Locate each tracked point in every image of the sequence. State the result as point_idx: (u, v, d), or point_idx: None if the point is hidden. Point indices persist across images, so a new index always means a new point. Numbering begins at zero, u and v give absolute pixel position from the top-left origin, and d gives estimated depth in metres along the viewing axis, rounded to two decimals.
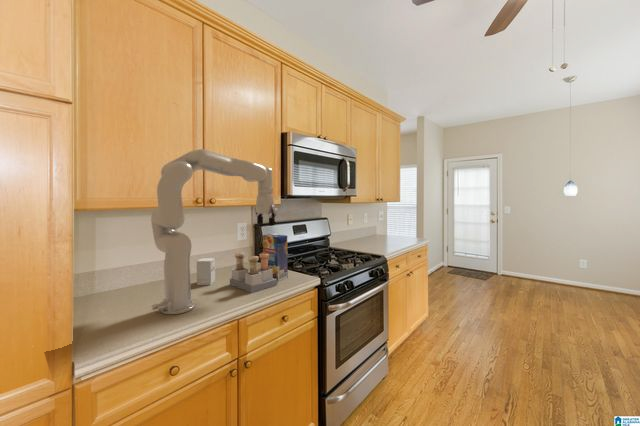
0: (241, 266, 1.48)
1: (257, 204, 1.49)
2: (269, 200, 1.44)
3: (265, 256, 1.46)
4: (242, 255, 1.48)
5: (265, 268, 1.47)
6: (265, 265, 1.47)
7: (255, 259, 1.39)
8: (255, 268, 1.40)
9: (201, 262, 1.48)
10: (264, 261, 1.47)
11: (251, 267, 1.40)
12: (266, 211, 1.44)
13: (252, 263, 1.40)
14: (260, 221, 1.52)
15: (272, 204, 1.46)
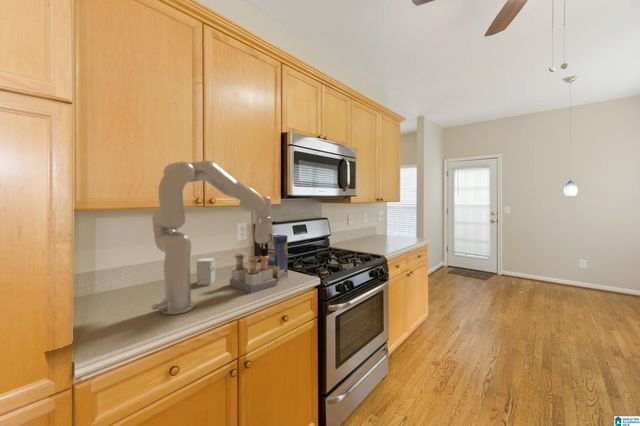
0: (241, 266, 1.48)
1: (256, 233, 1.48)
2: (268, 229, 1.43)
3: (265, 258, 1.46)
4: (242, 255, 1.48)
5: (265, 270, 1.47)
6: (265, 267, 1.47)
7: (255, 259, 1.39)
8: (255, 268, 1.40)
9: (201, 262, 1.48)
10: (264, 263, 1.47)
11: (251, 267, 1.40)
12: (265, 241, 1.43)
13: (252, 263, 1.40)
14: None
15: (271, 233, 1.45)
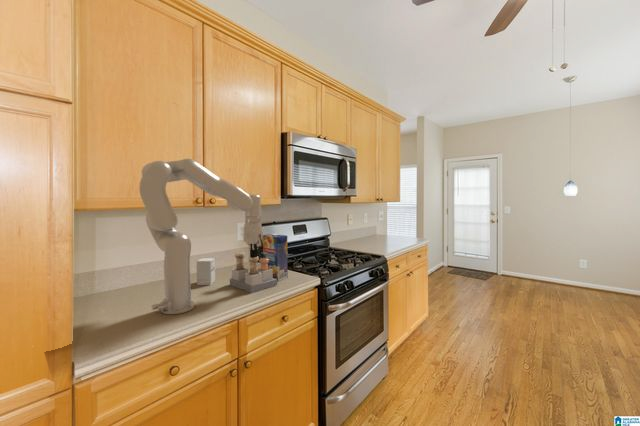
0: (241, 266, 1.48)
1: (244, 233, 1.41)
2: (257, 229, 1.36)
3: (265, 261, 1.47)
4: (242, 255, 1.48)
5: None
6: (265, 270, 1.47)
7: (255, 259, 1.39)
8: (255, 268, 1.40)
9: (201, 262, 1.48)
10: (264, 266, 1.47)
11: (251, 267, 1.40)
12: (253, 241, 1.36)
13: (252, 263, 1.40)
14: None
15: (260, 233, 1.37)
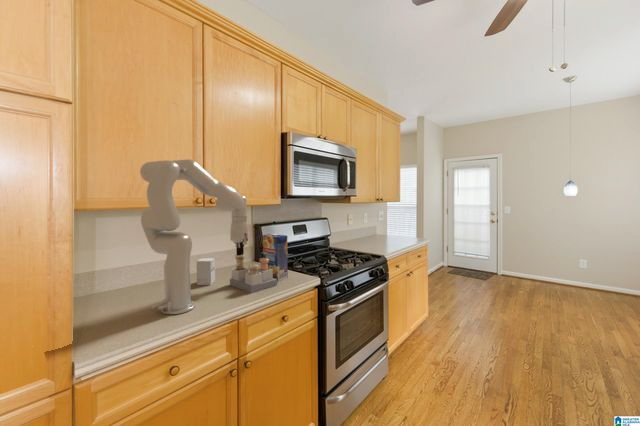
0: (241, 267, 1.48)
1: (231, 232, 1.49)
2: (242, 229, 1.44)
3: (265, 261, 1.47)
4: (242, 256, 1.48)
5: None
6: (265, 270, 1.47)
7: (255, 268, 1.40)
8: None
9: (201, 262, 1.48)
10: (264, 266, 1.47)
11: None
12: (239, 240, 1.44)
13: (252, 272, 1.40)
14: None
15: (246, 232, 1.45)
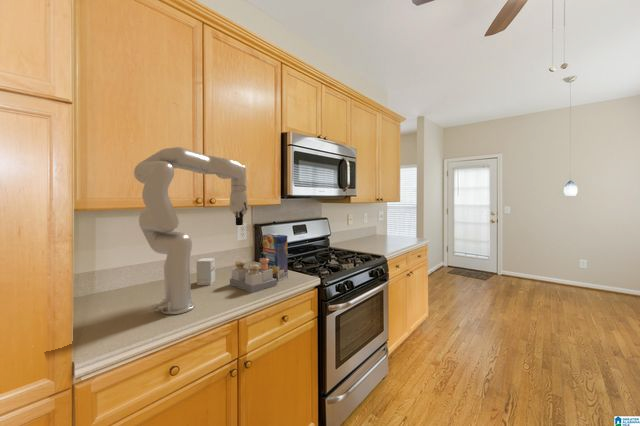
0: None
1: (230, 202, 1.47)
2: (242, 198, 1.43)
3: (265, 261, 1.47)
4: (242, 263, 1.48)
5: None
6: (265, 270, 1.47)
7: (255, 268, 1.40)
8: None
9: (201, 262, 1.48)
10: (264, 266, 1.47)
11: None
12: (239, 209, 1.43)
13: (252, 272, 1.40)
14: None
15: (245, 202, 1.44)
